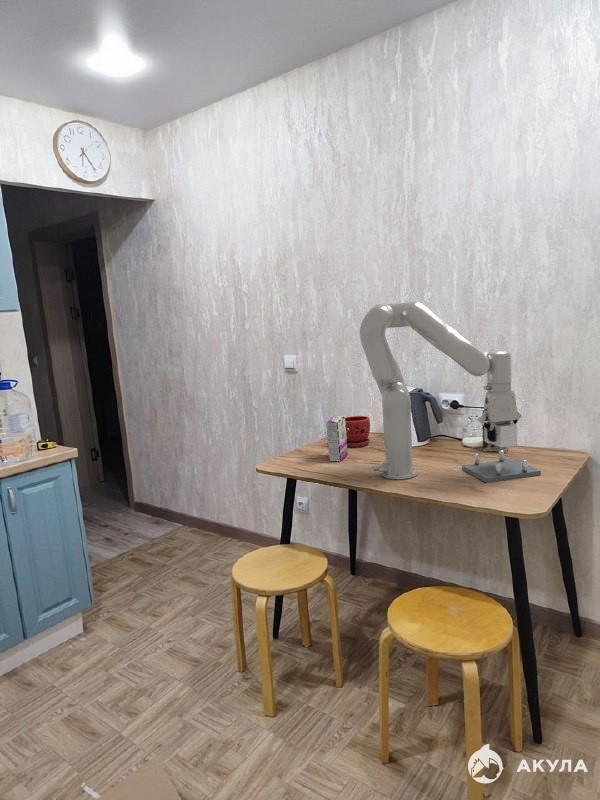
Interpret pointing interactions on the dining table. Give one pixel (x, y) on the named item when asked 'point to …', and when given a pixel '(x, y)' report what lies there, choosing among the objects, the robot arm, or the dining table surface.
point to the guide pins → (498, 465)
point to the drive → (503, 434)
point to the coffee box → (491, 445)
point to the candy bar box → (337, 438)
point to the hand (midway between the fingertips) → (500, 439)
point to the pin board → (508, 470)
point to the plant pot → (357, 431)
